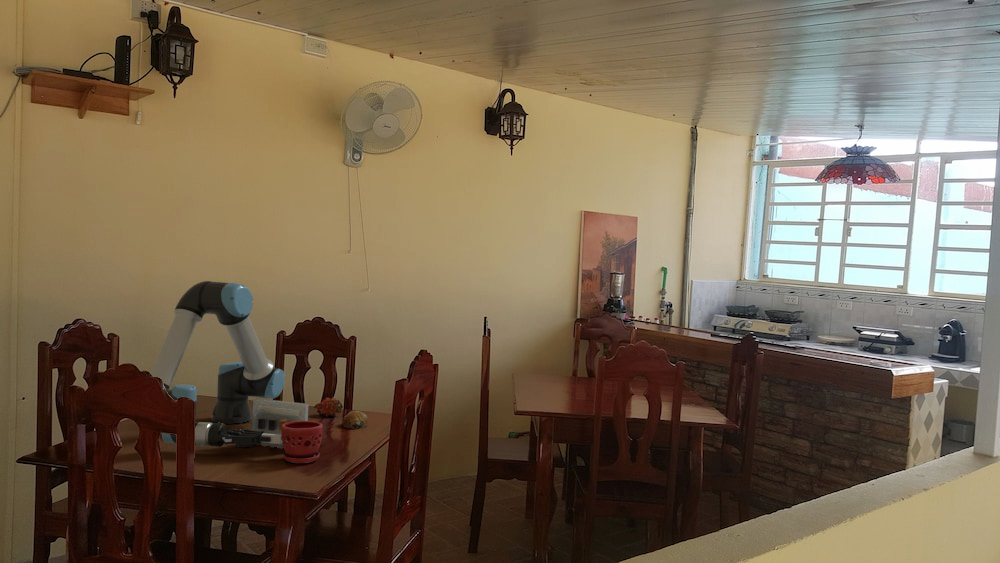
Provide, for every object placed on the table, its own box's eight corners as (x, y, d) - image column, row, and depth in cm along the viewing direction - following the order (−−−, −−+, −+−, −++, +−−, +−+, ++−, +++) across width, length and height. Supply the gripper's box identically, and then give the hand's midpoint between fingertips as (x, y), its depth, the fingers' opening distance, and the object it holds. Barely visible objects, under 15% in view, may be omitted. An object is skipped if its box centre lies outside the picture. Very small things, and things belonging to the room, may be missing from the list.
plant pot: (327, 456, 243) (329, 421, 242) (310, 467, 230) (312, 430, 229) (291, 452, 245) (292, 417, 244) (272, 463, 232) (274, 426, 231)
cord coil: (232, 446, 248) (233, 439, 248) (242, 442, 254) (242, 435, 254) (248, 448, 247) (248, 441, 246) (257, 444, 252) (258, 437, 252)
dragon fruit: (344, 420, 303) (315, 423, 302) (345, 405, 309) (317, 408, 309) (340, 407, 297) (311, 409, 297) (342, 392, 304) (313, 394, 303)
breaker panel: (249, 445, 251) (251, 400, 250) (254, 443, 254) (256, 398, 253) (301, 451, 247) (304, 405, 246) (306, 449, 250) (308, 404, 249)
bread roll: (368, 434, 291) (372, 415, 294) (363, 428, 281) (366, 408, 284) (345, 432, 291) (348, 413, 295) (338, 426, 282) (342, 406, 285)
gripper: (219, 440, 244) (287, 445, 244) (202, 450, 231) (274, 455, 230) (220, 418, 244) (288, 423, 243) (203, 427, 231) (275, 432, 230)
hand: (281, 439), depth 237 cm, fingers closed
